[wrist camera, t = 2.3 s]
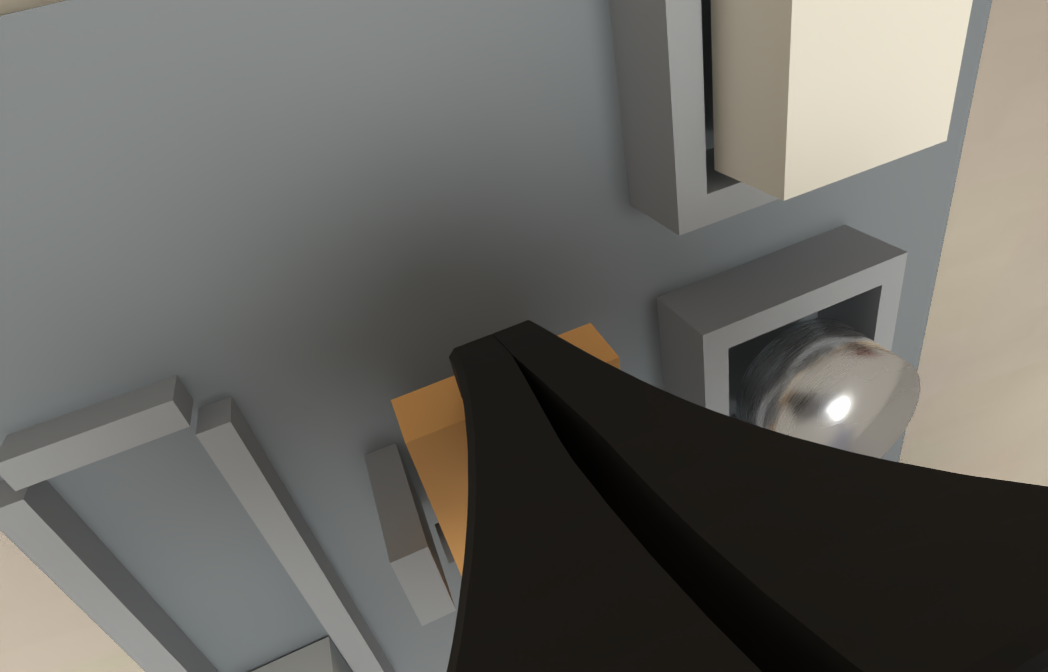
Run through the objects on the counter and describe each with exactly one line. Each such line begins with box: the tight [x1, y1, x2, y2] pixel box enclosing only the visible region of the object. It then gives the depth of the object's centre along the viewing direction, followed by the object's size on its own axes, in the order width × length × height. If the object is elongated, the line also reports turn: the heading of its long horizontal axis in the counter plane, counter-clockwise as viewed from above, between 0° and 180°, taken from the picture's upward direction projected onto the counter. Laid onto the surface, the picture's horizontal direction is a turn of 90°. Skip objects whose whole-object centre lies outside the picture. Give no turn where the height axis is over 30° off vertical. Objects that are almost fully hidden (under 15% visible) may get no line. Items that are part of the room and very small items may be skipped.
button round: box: [735, 318, 920, 458], centre depth 14 cm, size 3×3×2 cm
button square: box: [711, 0, 973, 201], centre depth 10 cm, size 3×3×2 cm
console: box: [0, 0, 992, 672], centre depth 14 cm, size 18×22×5 cm
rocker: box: [391, 323, 620, 576], centre depth 13 cm, size 8×4×1 cm, turn 11°
